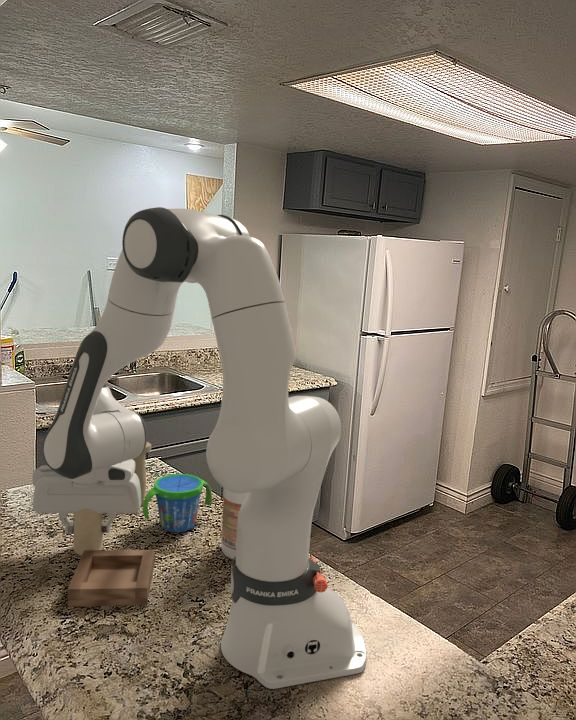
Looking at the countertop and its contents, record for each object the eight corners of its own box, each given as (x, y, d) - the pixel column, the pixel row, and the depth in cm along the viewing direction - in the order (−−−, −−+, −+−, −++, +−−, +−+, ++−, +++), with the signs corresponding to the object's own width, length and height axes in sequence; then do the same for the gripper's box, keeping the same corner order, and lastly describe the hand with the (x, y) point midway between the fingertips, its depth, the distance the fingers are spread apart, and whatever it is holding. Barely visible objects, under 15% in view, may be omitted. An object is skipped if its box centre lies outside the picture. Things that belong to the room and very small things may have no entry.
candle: (93, 557, 116) (93, 509, 114) (68, 553, 117) (67, 505, 115) (107, 544, 121) (108, 498, 119) (83, 540, 122) (82, 494, 120)
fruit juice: (225, 537, 127) (230, 410, 122) (269, 541, 126) (276, 414, 121) (217, 560, 117) (222, 423, 112) (264, 564, 117) (272, 427, 112)
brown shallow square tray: (154, 565, 114) (154, 549, 114) (147, 605, 101) (147, 588, 101) (84, 566, 112) (84, 550, 112) (67, 606, 100) (67, 589, 99)
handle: (138, 511, 136) (139, 449, 134) (119, 503, 140) (120, 442, 137) (154, 505, 140) (155, 444, 138) (135, 497, 144) (136, 438, 141)
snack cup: (149, 543, 122) (150, 497, 120) (135, 522, 131) (136, 478, 129) (219, 530, 130) (221, 486, 128) (202, 510, 139) (203, 469, 137)
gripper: (27, 471, 111) (28, 540, 114) (139, 472, 114) (138, 539, 116) (36, 459, 117) (37, 525, 120) (143, 460, 120) (142, 524, 122)
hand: (88, 532), depth 118 cm, fingers closed on candle, 5 cm apart
